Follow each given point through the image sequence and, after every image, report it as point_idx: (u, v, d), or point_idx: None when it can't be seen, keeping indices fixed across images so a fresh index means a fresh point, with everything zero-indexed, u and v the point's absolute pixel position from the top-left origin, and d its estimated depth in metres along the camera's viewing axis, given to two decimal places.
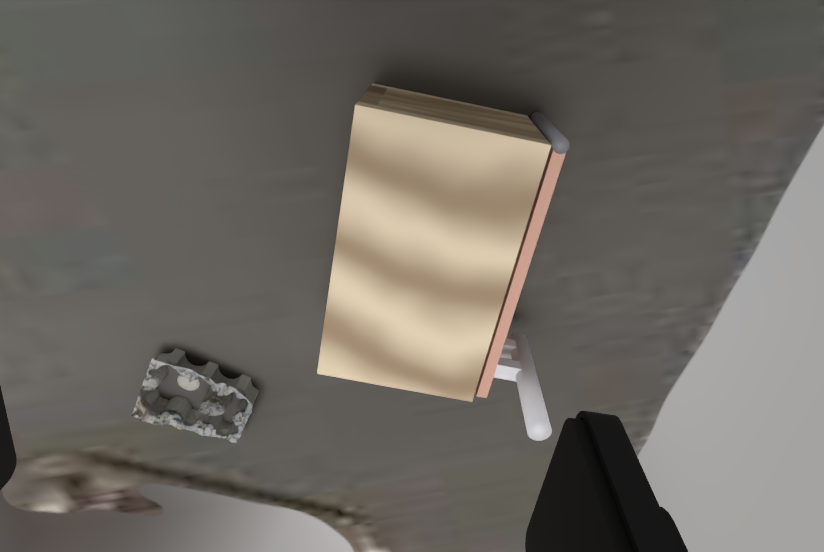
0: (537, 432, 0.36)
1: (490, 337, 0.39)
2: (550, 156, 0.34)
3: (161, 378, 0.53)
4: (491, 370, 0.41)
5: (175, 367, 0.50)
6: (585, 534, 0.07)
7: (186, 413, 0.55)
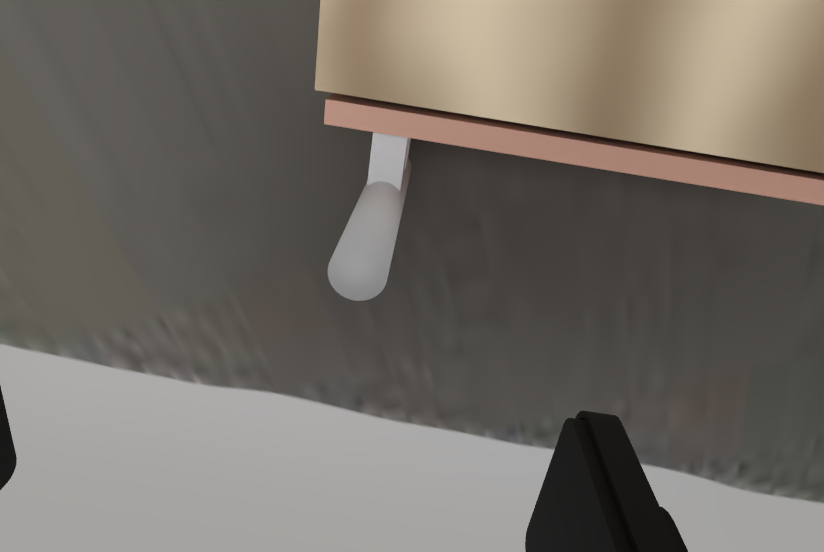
0: (353, 270, 0.14)
1: (499, 116, 0.17)
2: None
3: None
4: (401, 127, 0.18)
5: None
6: (585, 534, 0.07)
7: None
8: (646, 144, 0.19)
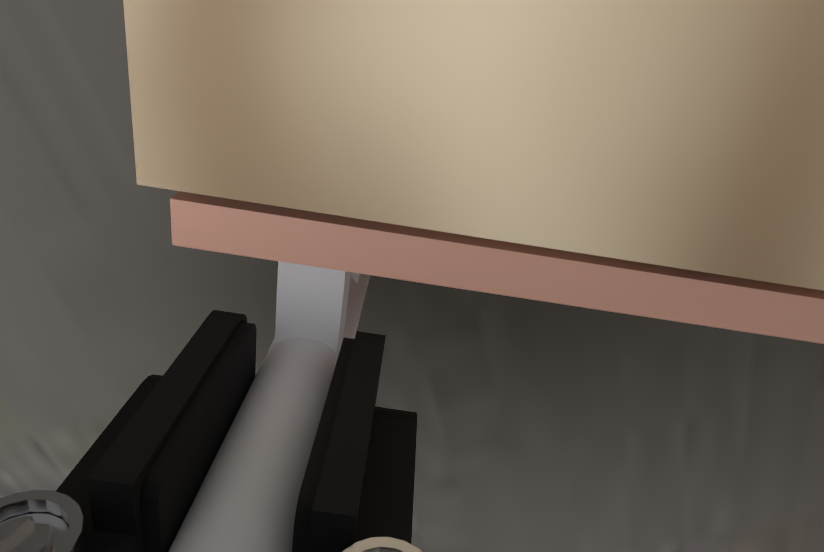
0: None
1: (531, 238, 0.08)
2: None
3: None
4: (330, 252, 0.09)
5: None
6: None
7: None
8: None
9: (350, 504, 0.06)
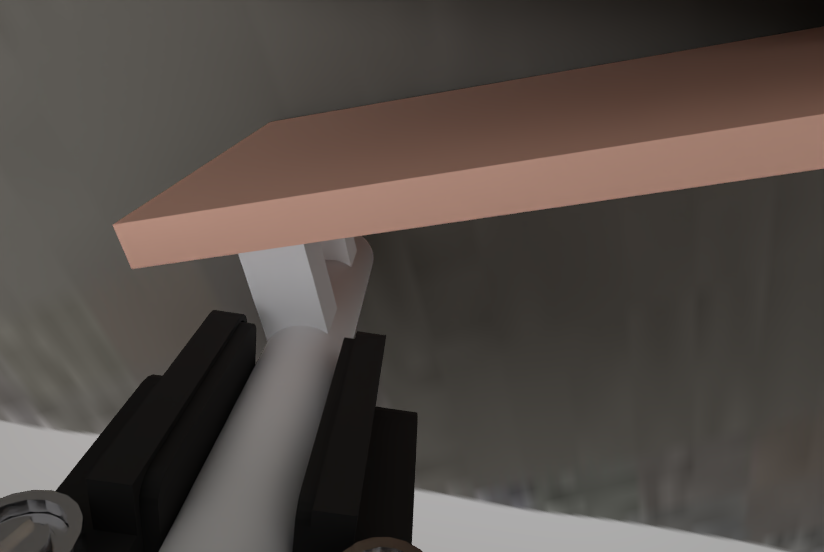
0: None
1: None
2: None
3: None
4: (274, 230, 0.09)
5: None
6: None
7: None
8: (793, 95, 0.09)
9: (351, 504, 0.06)
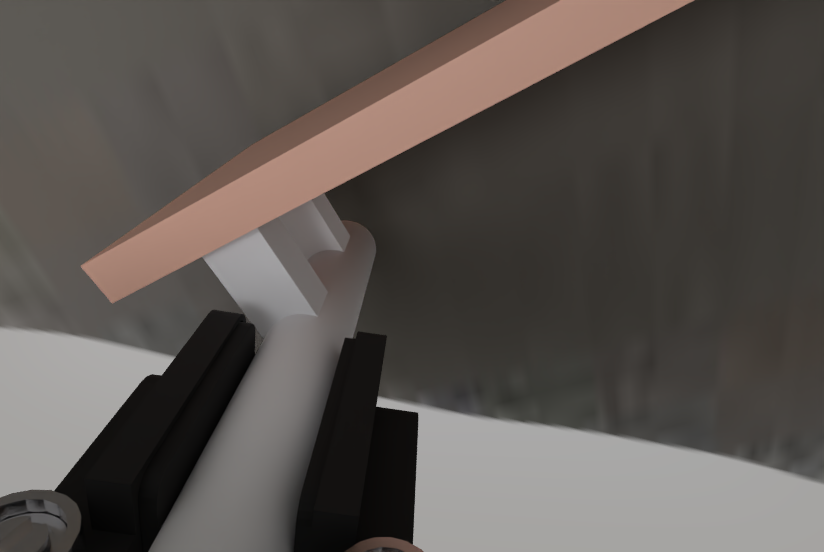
0: None
1: None
2: None
3: None
4: (220, 226, 0.09)
5: None
6: None
7: None
8: None
9: (351, 504, 0.06)
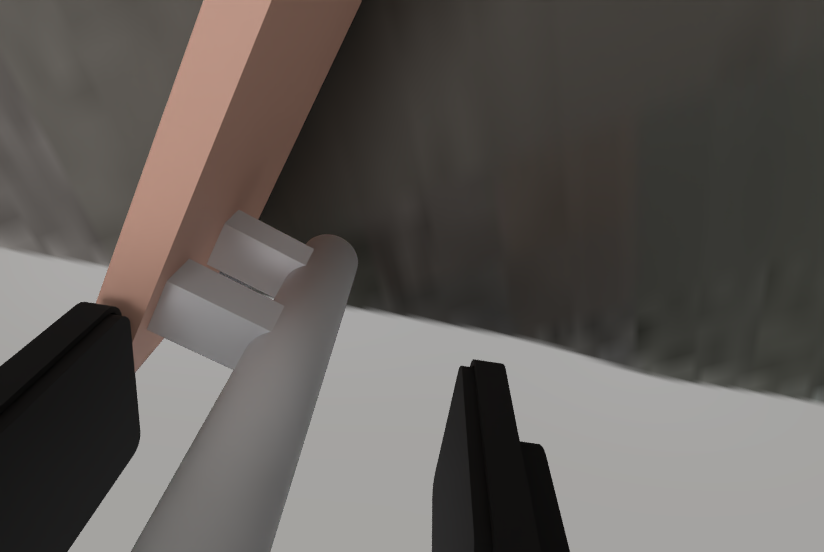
0: None
1: None
2: None
3: None
4: (131, 298, 0.09)
5: None
6: (458, 462, 0.08)
7: None
8: None
9: None
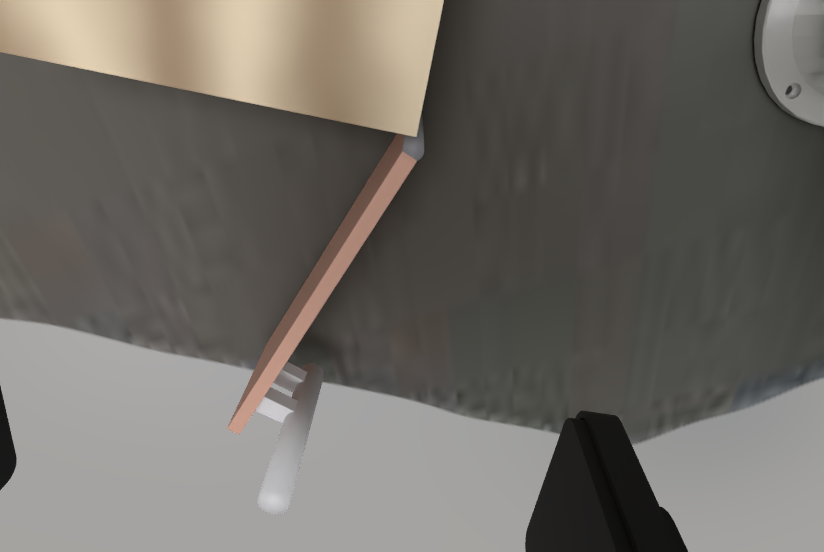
0: (270, 503, 0.27)
1: (93, 68, 0.23)
2: (397, 159, 0.25)
3: None
4: (253, 402, 0.31)
5: None
6: (585, 534, 0.07)
7: None
8: (321, 275, 0.29)
9: None
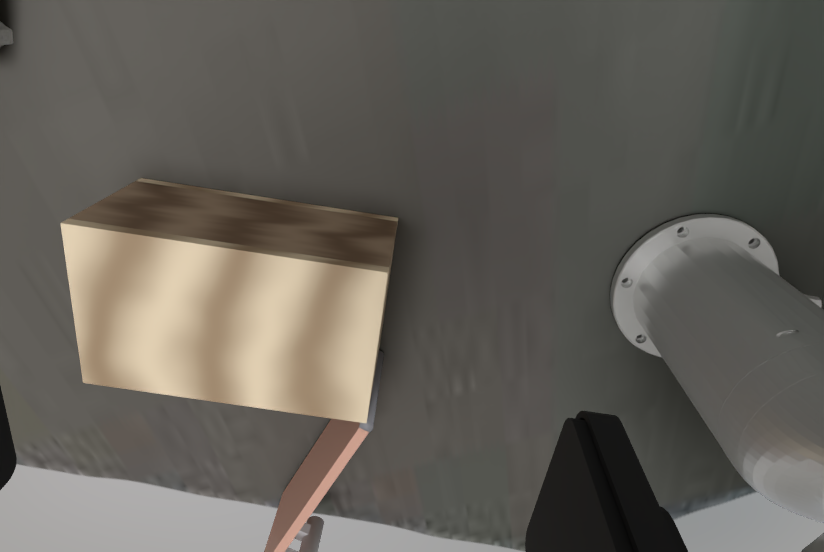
0: None
1: (168, 393, 0.38)
2: (356, 430, 0.40)
3: None
4: None
5: None
6: (585, 534, 0.07)
7: None
8: (314, 483, 0.44)
9: None
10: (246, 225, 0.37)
